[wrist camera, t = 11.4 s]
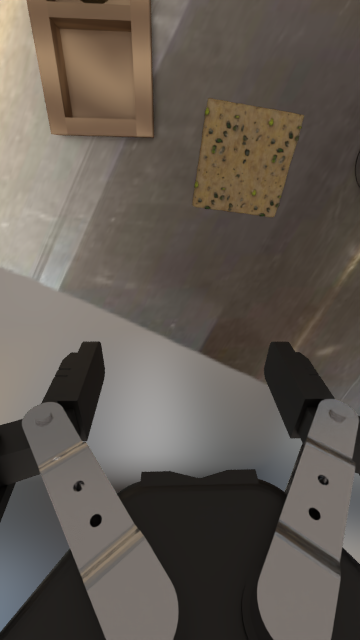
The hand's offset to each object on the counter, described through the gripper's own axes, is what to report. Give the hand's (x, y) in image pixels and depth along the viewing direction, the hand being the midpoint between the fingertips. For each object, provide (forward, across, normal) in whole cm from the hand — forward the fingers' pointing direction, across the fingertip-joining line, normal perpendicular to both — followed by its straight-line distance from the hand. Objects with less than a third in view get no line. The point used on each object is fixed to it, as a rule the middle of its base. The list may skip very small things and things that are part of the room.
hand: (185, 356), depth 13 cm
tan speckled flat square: (+31, -9, -7) cm, 33 cm away
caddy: (+30, +8, -19) cm, 36 cm away
